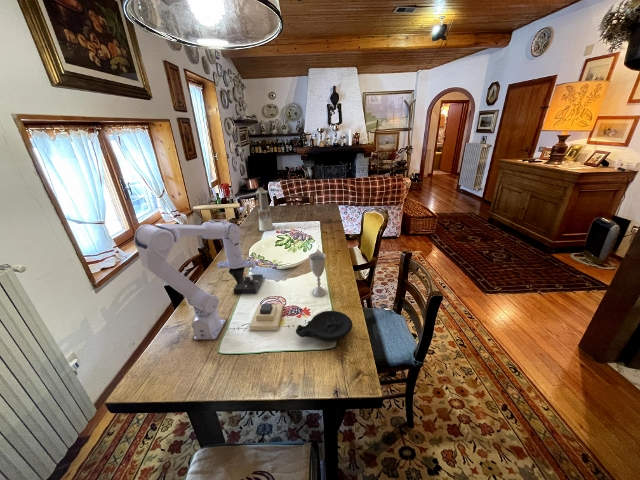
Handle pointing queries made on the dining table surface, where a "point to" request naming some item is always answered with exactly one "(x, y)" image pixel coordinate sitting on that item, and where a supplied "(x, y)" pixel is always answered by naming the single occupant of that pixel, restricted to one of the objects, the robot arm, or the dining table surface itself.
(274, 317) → the stepped cream base
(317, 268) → the chalice
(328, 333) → the oil lamp
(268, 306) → the switch
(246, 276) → the dial
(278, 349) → the dining table surface
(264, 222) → the lamp
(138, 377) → the dining table surface
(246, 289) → the browning panel
